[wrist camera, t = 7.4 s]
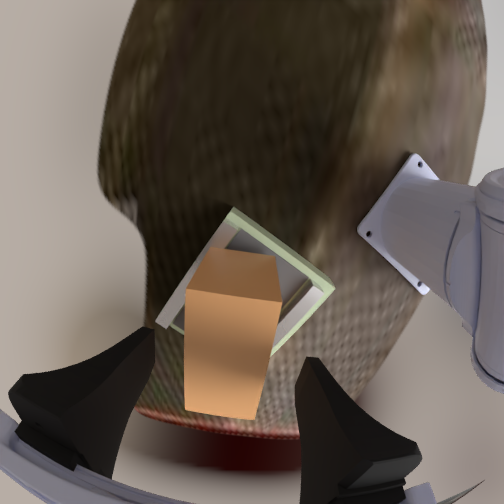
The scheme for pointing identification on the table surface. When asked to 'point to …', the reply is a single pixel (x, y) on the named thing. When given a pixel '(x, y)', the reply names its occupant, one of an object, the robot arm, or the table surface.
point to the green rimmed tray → (289, 273)
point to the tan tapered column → (229, 331)
